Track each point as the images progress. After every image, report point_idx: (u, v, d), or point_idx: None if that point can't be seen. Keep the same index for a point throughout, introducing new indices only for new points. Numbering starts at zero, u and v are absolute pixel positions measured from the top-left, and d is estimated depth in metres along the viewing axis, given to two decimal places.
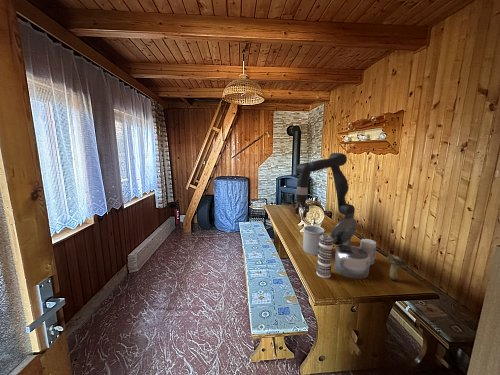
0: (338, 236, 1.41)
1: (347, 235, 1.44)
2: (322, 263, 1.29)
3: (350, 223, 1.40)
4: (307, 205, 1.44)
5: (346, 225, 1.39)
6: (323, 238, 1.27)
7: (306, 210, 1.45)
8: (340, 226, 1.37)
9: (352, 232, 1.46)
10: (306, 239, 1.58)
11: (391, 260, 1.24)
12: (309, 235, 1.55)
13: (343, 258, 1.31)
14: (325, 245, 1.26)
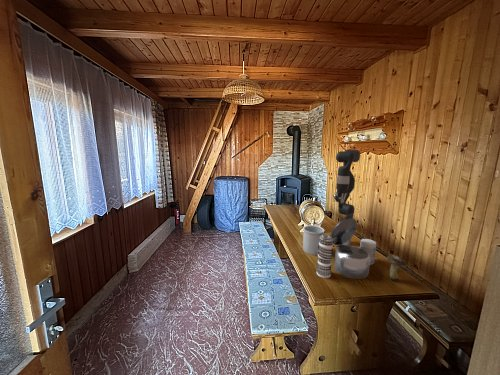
0: (338, 236, 1.41)
1: (347, 235, 1.44)
2: (322, 263, 1.29)
3: (350, 223, 1.40)
4: None
5: (346, 225, 1.39)
6: (323, 238, 1.27)
7: None
8: (340, 226, 1.37)
9: (352, 232, 1.46)
10: (306, 239, 1.58)
11: (391, 260, 1.24)
12: (309, 235, 1.55)
13: (343, 258, 1.31)
14: (325, 245, 1.26)
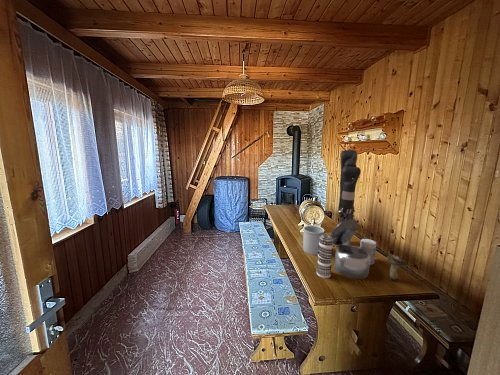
0: (338, 236, 1.41)
1: (347, 235, 1.44)
2: (322, 263, 1.29)
3: (351, 223, 1.39)
4: None
5: (347, 225, 1.39)
6: (323, 238, 1.27)
7: None
8: (341, 226, 1.37)
9: (353, 232, 1.45)
10: (306, 239, 1.58)
11: (391, 260, 1.24)
12: (309, 235, 1.55)
13: (343, 258, 1.31)
14: (325, 245, 1.26)
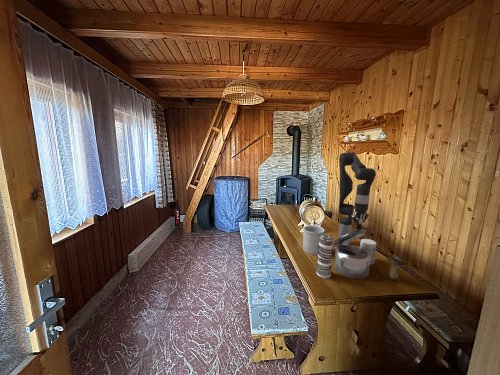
0: (342, 241, 1.38)
1: (350, 239, 1.42)
2: (322, 263, 1.29)
3: (359, 233, 1.34)
4: None
5: (354, 235, 1.34)
6: (323, 238, 1.27)
7: (364, 220, 1.31)
8: (348, 236, 1.31)
9: (357, 237, 1.43)
10: (306, 239, 1.58)
11: (391, 260, 1.24)
12: (309, 235, 1.55)
13: (343, 258, 1.31)
14: (325, 245, 1.26)
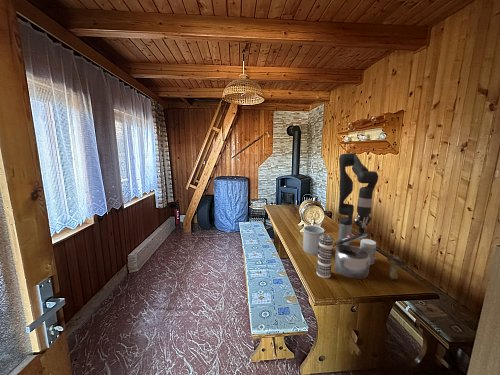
0: (343, 242, 1.38)
1: (351, 240, 1.42)
2: (322, 263, 1.29)
3: (361, 236, 1.33)
4: None
5: (356, 237, 1.33)
6: (323, 238, 1.27)
7: (367, 224, 1.30)
8: (350, 239, 1.31)
9: (357, 239, 1.42)
10: (306, 239, 1.58)
11: (391, 260, 1.24)
12: (309, 235, 1.55)
13: (343, 258, 1.31)
14: (325, 245, 1.26)
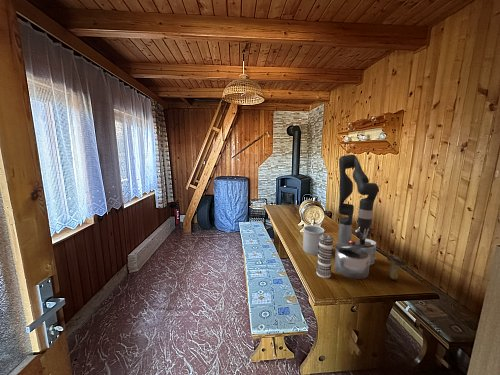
0: None
1: None
2: (322, 263, 1.29)
3: None
4: None
5: None
6: (323, 238, 1.27)
7: (368, 235, 1.30)
8: None
9: None
10: (306, 239, 1.58)
11: (391, 260, 1.24)
12: (309, 235, 1.55)
13: (343, 258, 1.31)
14: (325, 245, 1.26)
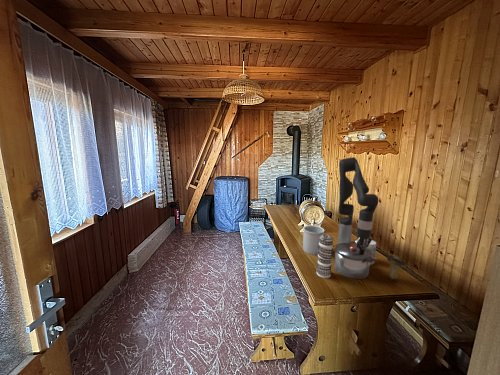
0: None
1: None
2: (322, 263, 1.29)
3: None
4: None
5: None
6: (323, 238, 1.27)
7: (367, 245, 1.30)
8: None
9: None
10: (306, 239, 1.58)
11: (391, 260, 1.24)
12: (309, 235, 1.55)
13: (343, 258, 1.31)
14: (325, 245, 1.26)
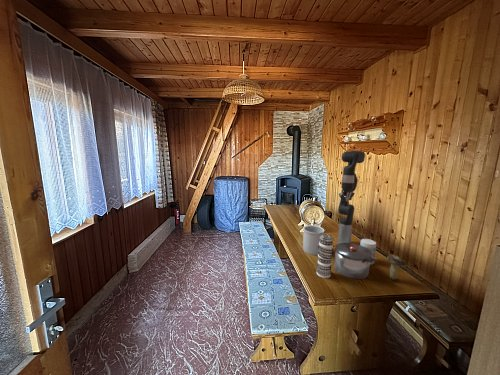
0: None
1: None
2: (322, 263, 1.29)
3: None
4: None
5: None
6: (323, 238, 1.27)
7: (351, 198, 1.49)
8: None
9: None
10: (306, 239, 1.58)
11: (391, 260, 1.24)
12: (309, 235, 1.55)
13: (343, 258, 1.31)
14: (325, 245, 1.26)
